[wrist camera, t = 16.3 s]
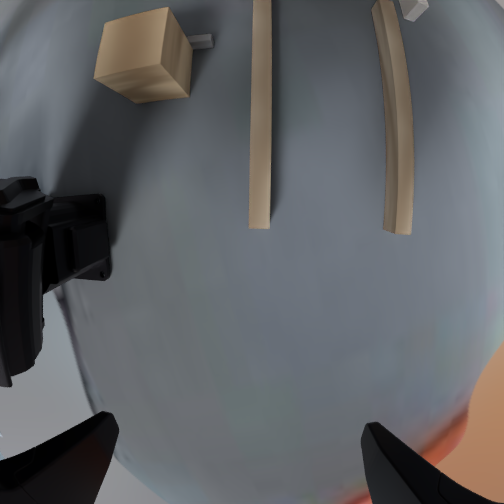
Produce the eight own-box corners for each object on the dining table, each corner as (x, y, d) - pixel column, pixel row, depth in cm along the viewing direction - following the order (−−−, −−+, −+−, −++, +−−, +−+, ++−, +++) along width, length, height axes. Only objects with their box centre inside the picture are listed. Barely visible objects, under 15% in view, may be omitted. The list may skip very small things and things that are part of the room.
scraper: (118, 107, 17) (73, 85, 11) (125, 55, 16) (87, 23, 10) (211, 95, 17) (189, 59, 11) (214, 41, 16) (196, -5, 10)
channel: (250, 224, 19) (248, 228, 17) (254, -4, 15) (253, -19, 13) (397, 230, 18) (410, 234, 16) (384, 13, 14) (393, 1, 12)
